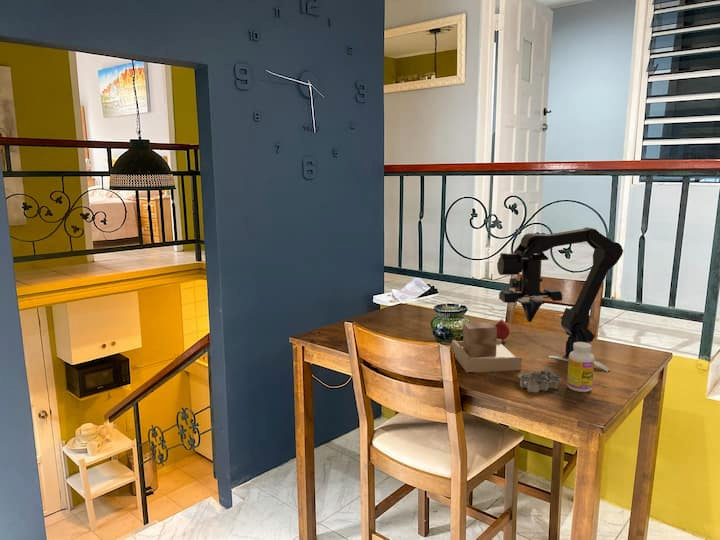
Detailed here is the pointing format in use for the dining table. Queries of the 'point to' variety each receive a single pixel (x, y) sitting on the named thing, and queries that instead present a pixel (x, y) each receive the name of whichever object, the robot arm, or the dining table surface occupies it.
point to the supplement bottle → (580, 368)
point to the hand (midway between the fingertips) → (529, 321)
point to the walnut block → (479, 339)
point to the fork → (594, 362)
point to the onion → (502, 330)
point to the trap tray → (487, 359)
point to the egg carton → (539, 380)
